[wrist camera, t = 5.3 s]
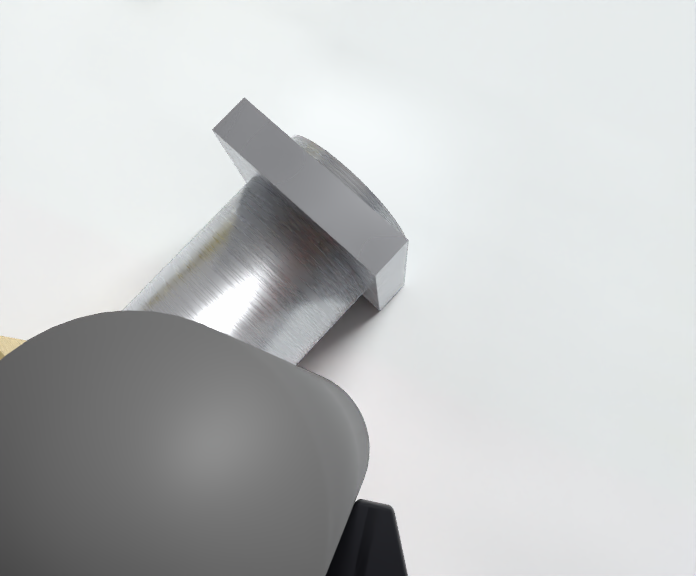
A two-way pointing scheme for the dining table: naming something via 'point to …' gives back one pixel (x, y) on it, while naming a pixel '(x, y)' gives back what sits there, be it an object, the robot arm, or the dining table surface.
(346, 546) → the robot arm
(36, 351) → the lever
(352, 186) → the valve body
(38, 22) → the dining table surface
